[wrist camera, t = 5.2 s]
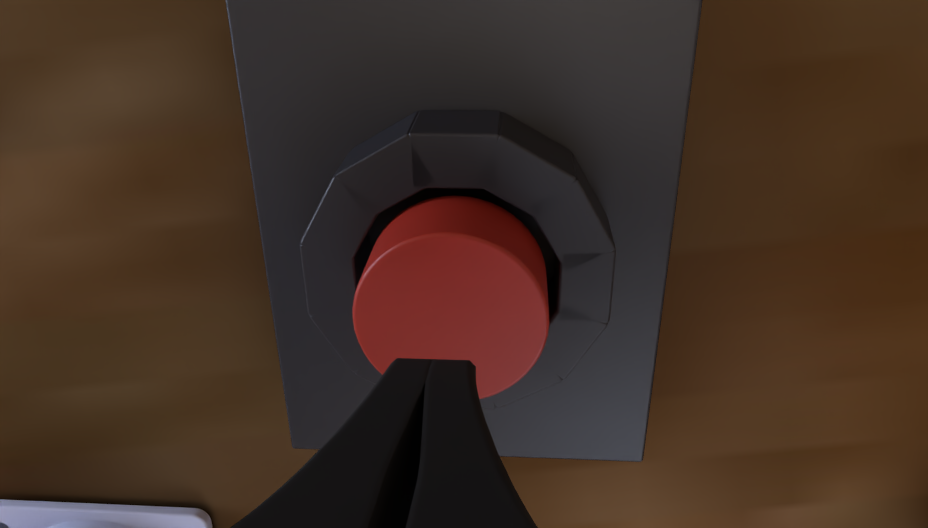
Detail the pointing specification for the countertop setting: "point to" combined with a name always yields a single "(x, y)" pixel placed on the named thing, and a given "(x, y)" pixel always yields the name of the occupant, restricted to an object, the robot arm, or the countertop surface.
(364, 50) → the control block
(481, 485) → the robot arm
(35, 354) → the countertop surface
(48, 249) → the countertop surface
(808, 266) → the countertop surface
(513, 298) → the red push button
